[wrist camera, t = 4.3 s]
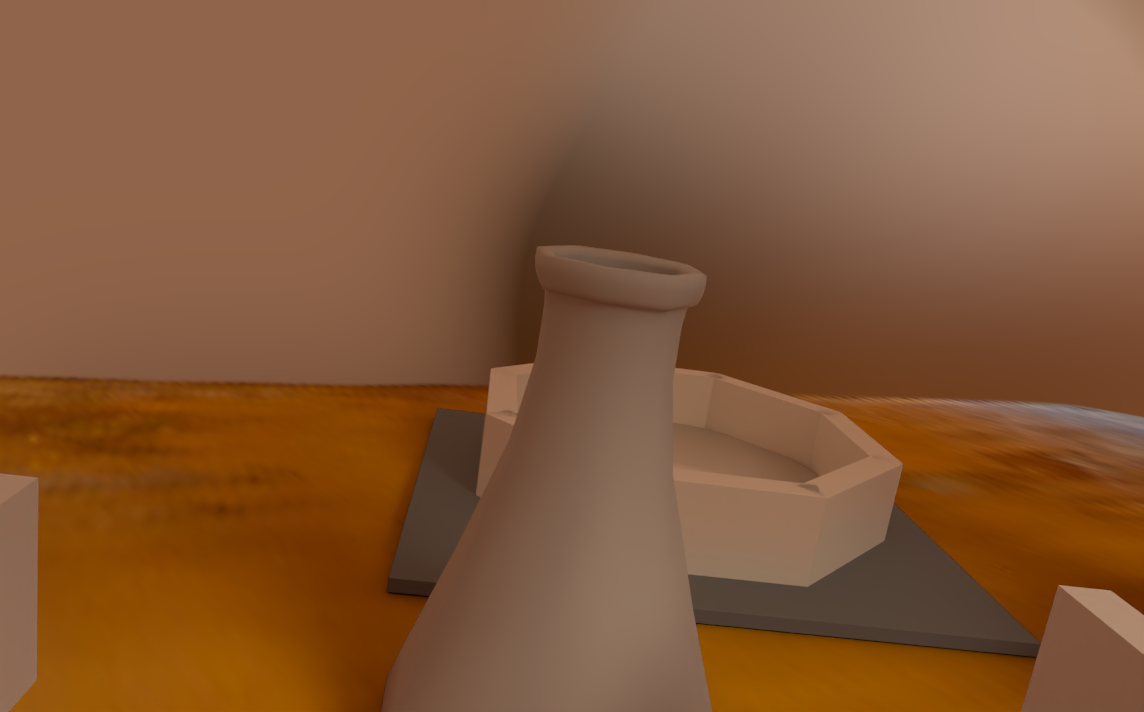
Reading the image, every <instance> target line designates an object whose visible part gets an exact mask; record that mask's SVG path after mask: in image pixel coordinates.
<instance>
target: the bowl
mask: <svg viewBox="0 0 1144 712" xmlns="http://www.w3.org/2000/svg"><path fill="white" fill-rule="evenodd" d="M533 364H534V363H532V364H523V365H515V366H507V367H498V368H491V372H490V380H489V387H488V395H487V403H486V410H485V418H484V426H483V434H482V443H481V452H480V461H479V471H478V480H477V489H476V495H477V496H479V497H481V496H482V494H483V492H484V490H485V488H486V486H487V484H488V482H489V480H490V478H491V476H492V474H493V472H494V470H495V468H496V466H497V464H498V462H499V459H500V457H501V455H502V453H503V451H504V449H505V447H506V445H507V443H508V441H509V439H510V436H511V433H512V430H513V427H514V424H515V420H516V417H517V414H518V411H519V408H520V405H521V402H522V399H523V395H524V392H525V389H526V386H527V383H528V380H529V377H530V374H531V371H532V367H533ZM902 467H903V463H901V462H900V461H899V460H898V459H897V458H895V457H894V456H893V455H892V454H891V453H889V452H888V451H887V450H886V449H885V448H883V447H882V446H881V445H880V444H879V443H877V442H876V441H875V440H874V439H873V438H871V437H870V436H869V435H868V434H867V433H865V432H864V431H863V430H862V429H861V428H859V427H858V426H857V425H856V424H855V423H853V422H852V421H851V420H850V419H849V418H847V417H846V416H845V415H844V414H843V413H841V412H839V411H835V410H832V409H829V408H826V407H823V406H820V405H816V404H813V403H810V402H807V401H804V400H801V399H798V398H794V397H791V396H788V395H785V394H782V393H779V392H775V391H772V390H769V389H766V388H763V387H760V386H757V385H753V384H750V383H747V382H744V381H741V380H737V379H734V378H731V377H728V376H725V375H722V374H719V373H712V372H703V371H695V370H688V369H680V368H675V371H674V377H673V478H674V485H675V492H676V498H677V505H678V512H679V519H680V525H681V532H682V539H683V545H684V552H685V559H686V566H687V572H688V574H690V575H700V576H709V577H719V578H728V579H738V580H747V581H757V582H766V583H775V584H785V585H794V586H804V587H808V586H810V585H812V584H813V583H815V582H817V581H818V580H820V579H822V578H823V577H825V576H827V575H828V574H830V573H832V572H833V571H835V570H837V569H838V568H840V567H842V566H843V565H845V564H847V563H848V562H850V561H851V560H853V559H855V558H856V557H858V556H860V555H861V554H863V553H865V552H866V551H868V550H870V549H871V548H873V547H875V546H876V545H878V544H880V543H881V542H883V541H885V537H886V532H887V528H888V524H889V520H890V516H891V512H892V508H893V504H894V500H895V496H896V492H897V487H898V483H899V479H900V475H901V471H902Z"/></svg>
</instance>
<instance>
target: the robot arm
mask: <svg viewBox="0 0 1144 712" xmlns="http://www.w3.org/2000/svg"><path fill="white" fill-rule="evenodd" d="M37 582H38V477H29V476H19V475H10V474H0V712H9V711H10V710H11V709H12V708H13V706H14V705H15V704H16V703H17V702H18V701H19V700H20V698H21V697H22V696H23V695H24V694H25V693H26V692H27V690H28V689H29V688H30V687H31V686H32V685H33V684H34V682H35V681H36V680H37ZM1021 712H1144V615H1143V614H1141V613H1140V612H1139V611H1137V610H1136V609H1135V608H1133V607H1132V606H1131V605H1129V604H1128V603H1127V602H1125V601H1124V600H1123V599H1121V598H1120V597H1119V596H1117V595H1116V594H1115V593H1113V592H1112V591H1110V590H1101V589H1091V588H1082V587H1072V586H1063V585H1058V588H1057V591H1056V594H1055V598H1054V601H1053V604H1052V608H1051V611H1050V615H1049V618H1048V621H1047V625H1046V628H1045V632H1044V635H1043V638H1042V642H1041V645H1040V648H1039V652H1038V655H1037V659H1036V662H1035V665H1034V669H1033V672H1032V676H1031V679H1030V682H1029V686H1028V689H1027V692H1026V696H1025V699H1024V703H1023V706H1022V709H1021Z"/></svg>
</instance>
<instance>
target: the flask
mask: <svg viewBox="0 0 1144 712" xmlns="http://www.w3.org/2000/svg"><path fill="white" fill-rule="evenodd" d="M535 263H536V273H537V276H538V278H539V281H540V283H541V285H542V288H544V289H545V304H544V310H543V317H542V323H541V329H540V336H539V343H538V349H537V355H536V359H535V361H534V364H533V367H532V371H531V374H530V377H529V380H528V383H527V386H526V389H525V392H524V395H523V399H522V402H521V405H520V408H519V411H518V414H517V417H516V420H515V424H514V427H513V430H512V433H511V436H510V439H509V441H508V443H507V445H506V447H505V449H504V451H503V453H502V455H501V457H500V459H499V462H498V464H497V466H496V468H495V470H494V472H493V474H492V476H491V478H490V480H489V482H488V484H487V486H486V488H485V490H484V492H483V494H482V496H481V498H480V500H479V502H478V504H477V506H476V508H475V510H474V512H473V514H472V516H471V518H470V520H469V522H468V524H467V526H466V528H465V530H464V532H463V534H462V536H461V538H460V540H459V542H458V544H457V546H456V548H455V550H454V552H453V554H452V556H451V558H450V560H449V561H448V563H447V565H446V567H445V569H444V571H443V572H442V574H441V576H440V578H439V580H438V582H437V583H436V585H435V587H434V589H433V591H432V593H431V594H430V596H429V598H428V600H427V602H426V604H425V605H424V607H423V609H422V611H421V613H420V615H419V616H418V618H417V620H416V622H415V624H414V626H413V627H412V629H411V631H410V633H409V635H408V637H407V638H406V640H405V642H404V644H403V646H402V648H401V650H400V652H399V654H398V656H397V658H396V660H395V662H394V664H393V666H392V668H391V670H390V672H389V674H388V676H387V681H386V686H385V692H384V697H383V703H382V708H381V712H712V708H711V702H710V697H709V692H708V686H707V681H706V676H705V670H704V665H703V660H702V654H701V649H700V644H699V638H698V633H697V628H696V622H695V617H694V612H693V606H692V599H691V592H690V586H689V579H688V572H687V566H686V559H685V552H684V545H683V539H682V532H681V525H680V519H679V512H678V505H677V498H676V492H675V485H674V478H673V377H674V371H675V365H676V358H677V352H678V345H679V340H680V333H681V327H682V323H683V320H684V317H685V314H686V310H687V307H690V306H695V305H696V304H697V303H698V302H699V301H700V299H701V297H702V295H703V292H704V290H705V286H706V278H707V276H706V275H704V274H703V273H701V272H700V271H698V270H696V269H695V268H693V267H692V266H689V265H687V264H683V263H679V262H674V261H669V260H665V259H660V258H655V257H650V256H645V255H640V254H636V253H628V252H622V251H614V250H607V249H599V248H592V247H584V246H577V245H572V246H542V247H537V251H536V256H535Z"/></svg>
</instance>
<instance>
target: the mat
mask: <svg viewBox="0 0 1144 712" xmlns="http://www.w3.org/2000/svg"><path fill="white" fill-rule="evenodd" d="M484 418H485V414H484V413H476V412H467V411H459V410H451V409H443V408H437V411H436V415H435V418H434V422H433V425H432V429H431V432H430V436H429V439H428V443H427V446H426V450H425V453H424V456H423V460H422V463H421V467H420V470H419V474H418V477H417V481H416V484H415V488H414V491H413V495H412V498H411V502H410V505H409V509H408V512H407V516H406V519H405V523H404V526H403V530H402V533H401V537H400V540H399V543H398V547H397V550H396V554H395V557H394V561H393V564H392V568H391V571H390V575H389V579H388V588H387V592H394V593H404V594H414V595H424V596H430V594H431V593H432V591H433V589H434V587H435V585H436V583H437V582H438V580H439V578H440V576H441V574H442V572H443V571H444V569H445V567H446V565H447V563H448V561H449V560H450V558H451V556H452V554H453V552H454V550H455V548H456V546H457V544H458V542H459V540H460V538H461V536H462V534H463V532H464V530H465V528H466V526H467V524H468V522H469V520H470V518H471V516H472V514H473V512H474V510H475V508H476V506H477V504H478V502H479V500H480V498H481V497H479V496H477V495H476V489H477V480H478V471H479V461H480V452H481V443H482V434H483V426H484ZM688 579H689V586H690V592H691V599H692V606H693V612H694V617H695V622H696V623H702V624H712V625H722V626H732V627H742V628H752V629H762V630H772V631H782V632H792V633H802V634H812V635H822V636H832V637H842V638H852V639H862V640H872V641H882V642H892V643H902V644H912V645H922V646H931V647H941V648H951V649H961V650H971V651H981V652H991V653H1001V654H1011V655H1021V656H1031V657H1037V655H1038V652H1039V648H1040V645H1041V643H1040V642H1039V641H1038V640H1037V639H1036V638H1035V637H1034V636H1033V635H1032V634H1031V633H1030V632H1029V631H1028V630H1027V629H1025V628H1024V627H1023V626H1022V625H1021V624H1020V623H1019V622H1018V621H1017V620H1016V619H1015V618H1014V617H1013V616H1012V615H1011V614H1010V613H1009V612H1008V611H1007V610H1006V609H1005V608H1003V607H1002V606H1001V605H1000V604H999V603H998V602H997V601H996V600H995V599H994V598H993V597H992V596H991V595H990V594H989V593H988V592H987V591H986V590H985V589H984V588H983V587H981V586H980V585H979V584H978V583H977V582H976V581H975V580H974V579H973V578H972V577H971V576H970V575H969V574H968V573H967V572H966V571H965V570H964V569H963V568H962V567H961V566H959V565H958V564H957V563H956V562H955V561H954V560H953V559H952V558H951V557H950V556H949V555H948V554H947V553H946V552H945V551H944V550H943V549H942V548H941V547H940V546H939V545H937V544H936V543H935V542H934V541H933V540H932V539H931V538H930V537H929V536H928V535H927V534H926V533H925V532H924V531H923V530H922V529H921V528H920V527H919V526H918V525H917V524H915V523H914V522H913V521H912V520H911V519H910V518H909V517H908V516H907V515H906V514H905V513H904V512H903V511H902V510H901V509H900V508H899V507H898V506H897V505H896V504H895V503H894V504H893V508H892V512H891V516H890V520H889V524H888V528H887V532H886V537H885V541H883V542H881V543H880V544H878V545H876V546H875V547H873V548H871V549H870V550H868V551H866V552H865V553H863V554H861V555H860V556H858V557H856V558H855V559H853V560H851V561H850V562H848V563H847V564H845V565H843V566H842V567H840V568H838V569H837V570H835V571H833V572H832V573H830V574H828V575H827V576H825V577H823V578H822V579H820V580H818V581H817V582H815V583H813V584H812V585H810V586H808V587H804V586H794V585H785V584H775V583H766V582H757V581H747V580H738V579H728V578H719V577H709V576H700V575H690V574H688Z"/></svg>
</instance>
